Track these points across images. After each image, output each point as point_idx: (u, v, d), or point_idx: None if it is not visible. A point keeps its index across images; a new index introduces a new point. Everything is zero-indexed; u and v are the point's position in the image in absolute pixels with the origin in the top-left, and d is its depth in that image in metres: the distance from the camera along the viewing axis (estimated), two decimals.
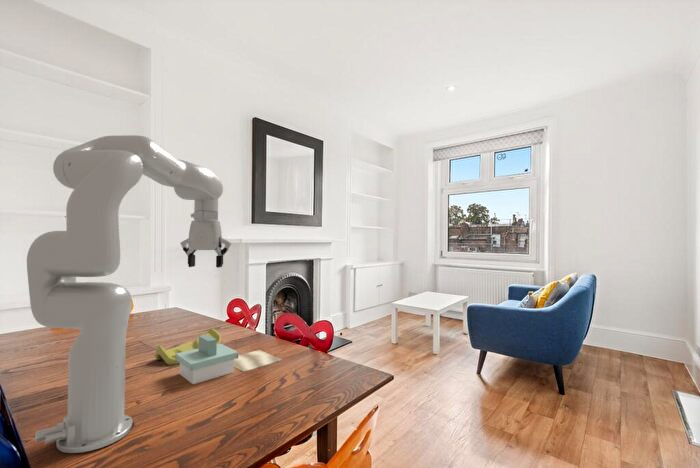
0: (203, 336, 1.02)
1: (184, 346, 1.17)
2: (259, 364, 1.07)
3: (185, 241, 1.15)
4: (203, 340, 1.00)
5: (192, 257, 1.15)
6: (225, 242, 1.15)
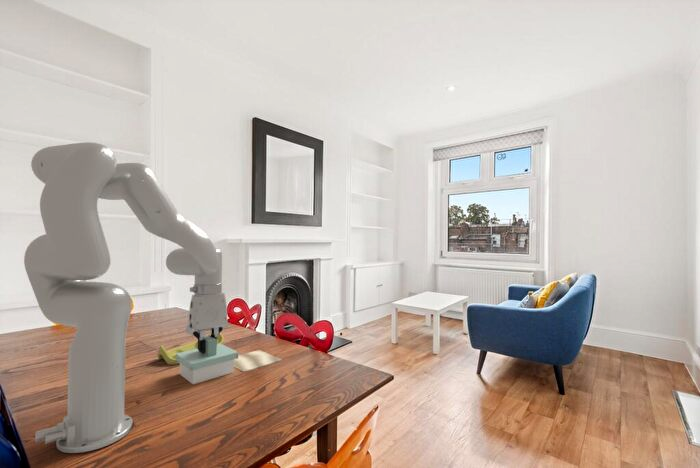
0: None
1: (186, 346, 1.17)
2: (259, 364, 1.07)
3: (191, 327, 0.97)
4: None
5: None
6: None
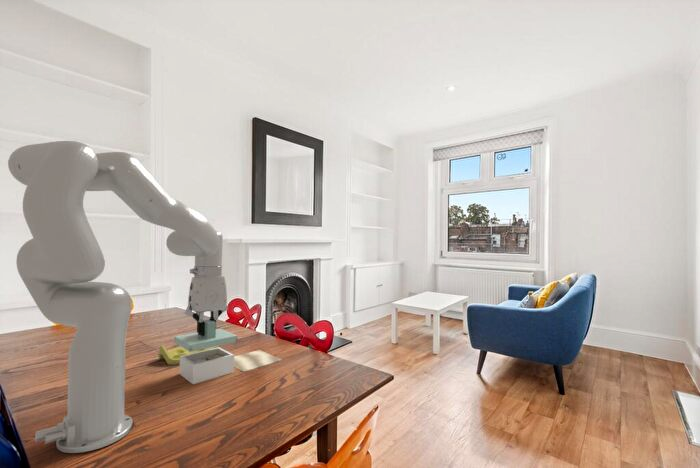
0: None
1: None
2: (259, 364, 1.07)
3: (190, 308, 0.97)
4: None
5: None
6: None
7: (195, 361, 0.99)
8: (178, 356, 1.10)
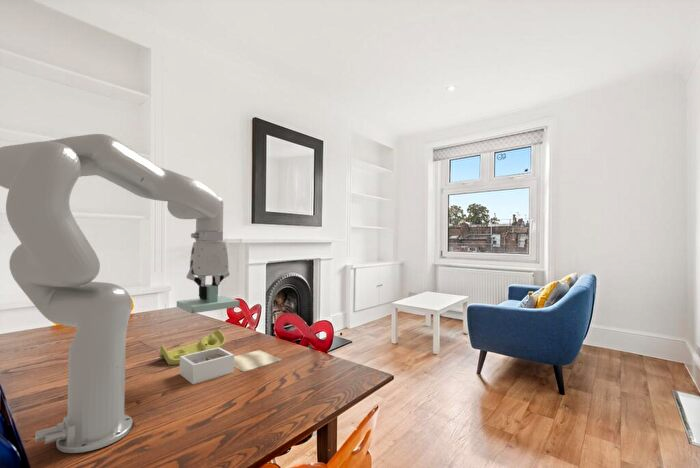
0: None
1: (188, 346, 1.16)
2: (259, 364, 1.07)
3: (192, 272, 0.97)
4: None
5: None
6: None
7: (195, 361, 0.99)
8: (178, 356, 1.10)
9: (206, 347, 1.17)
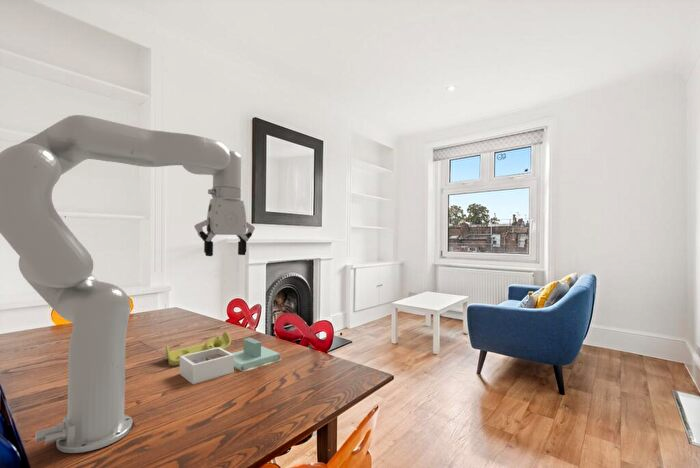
0: (248, 339, 1.13)
1: (194, 347, 1.16)
2: None
3: (203, 224, 0.91)
4: (248, 343, 1.11)
5: None
6: (250, 226, 1.01)
7: (195, 361, 0.99)
8: None
9: None
